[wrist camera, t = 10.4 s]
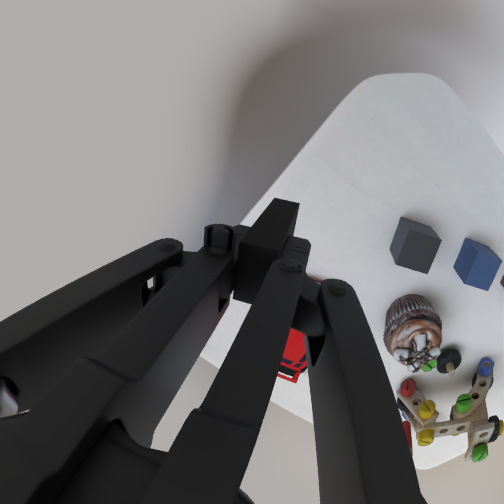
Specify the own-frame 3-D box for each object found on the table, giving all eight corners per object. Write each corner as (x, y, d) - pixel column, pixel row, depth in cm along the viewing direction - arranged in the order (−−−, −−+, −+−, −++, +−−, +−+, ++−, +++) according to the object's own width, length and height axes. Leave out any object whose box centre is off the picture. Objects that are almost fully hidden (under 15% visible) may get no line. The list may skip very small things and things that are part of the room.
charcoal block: (389, 248, 38) (395, 264, 33) (400, 216, 35) (408, 228, 31) (418, 258, 37) (427, 274, 32) (431, 227, 35) (441, 240, 30)
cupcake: (446, 306, 38) (463, 346, 29) (409, 345, 43) (417, 387, 34) (406, 279, 39) (420, 319, 30) (369, 322, 43) (372, 366, 35)
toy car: (352, 290, 42) (352, 309, 38) (305, 371, 51) (301, 391, 47) (288, 266, 43) (282, 283, 39) (254, 353, 53) (246, 371, 48)
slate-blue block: (453, 267, 36) (464, 283, 31) (465, 237, 33) (478, 251, 29) (476, 274, 35) (487, 291, 30) (488, 246, 32) (502, 260, 28)
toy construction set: (445, 425, 49) (452, 494, 31) (368, 421, 54) (362, 500, 36) (505, 348, 37) (537, 427, 19) (420, 338, 42) (440, 439, 24)
